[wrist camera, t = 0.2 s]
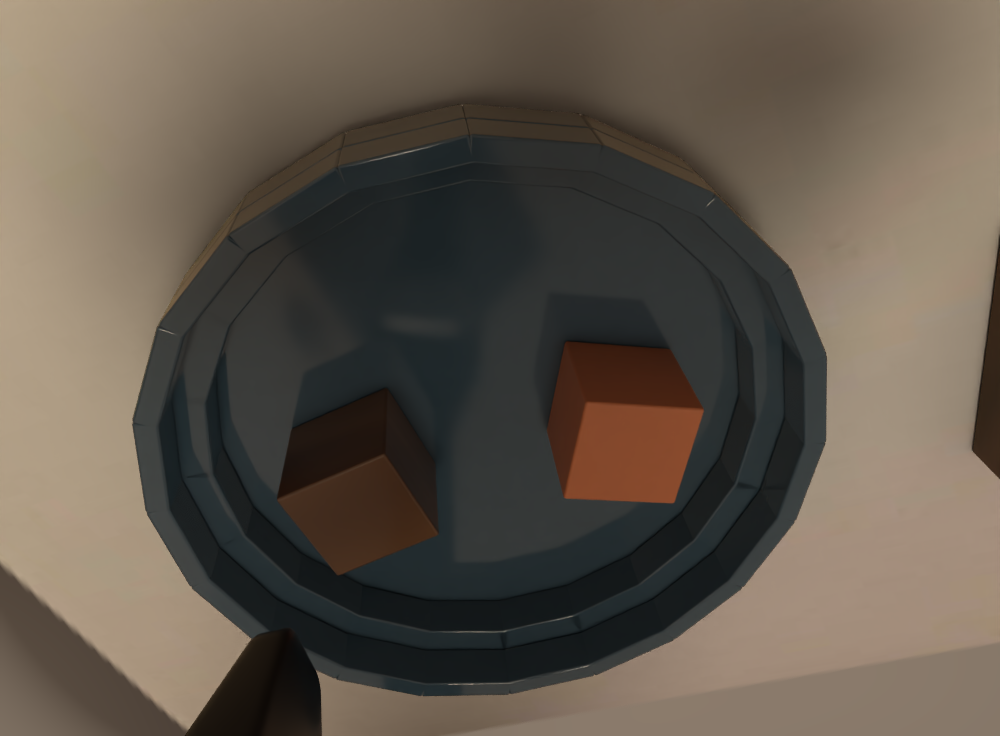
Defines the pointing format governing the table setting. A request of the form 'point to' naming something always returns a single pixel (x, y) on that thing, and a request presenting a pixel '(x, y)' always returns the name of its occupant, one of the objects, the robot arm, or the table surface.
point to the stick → (990, 392)
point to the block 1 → (360, 483)
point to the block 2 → (622, 423)
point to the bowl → (478, 396)
